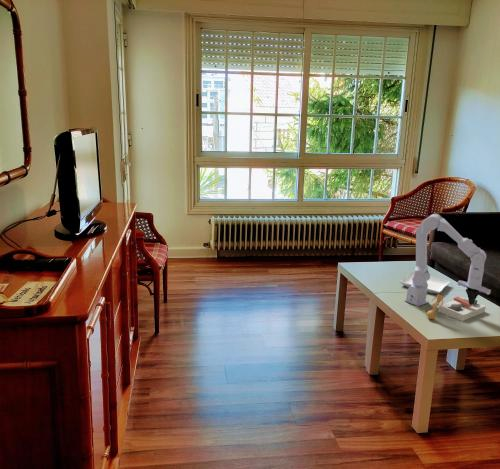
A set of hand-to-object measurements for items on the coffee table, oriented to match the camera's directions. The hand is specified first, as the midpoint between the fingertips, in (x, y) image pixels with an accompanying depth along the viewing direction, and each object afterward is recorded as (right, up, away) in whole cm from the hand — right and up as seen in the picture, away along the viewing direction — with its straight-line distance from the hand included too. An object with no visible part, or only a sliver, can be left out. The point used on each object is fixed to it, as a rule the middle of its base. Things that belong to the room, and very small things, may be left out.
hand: (471, 304), depth 210 cm
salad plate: (-8, +4, +36) cm, 37 cm away
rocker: (-2, +1, +3) cm, 4 cm away
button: (-7, -4, 0) cm, 8 cm away
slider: (+4, -1, +5) cm, 7 cm away
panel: (-2, -4, +4) cm, 6 cm away
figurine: (-20, -6, -5) cm, 22 cm away
